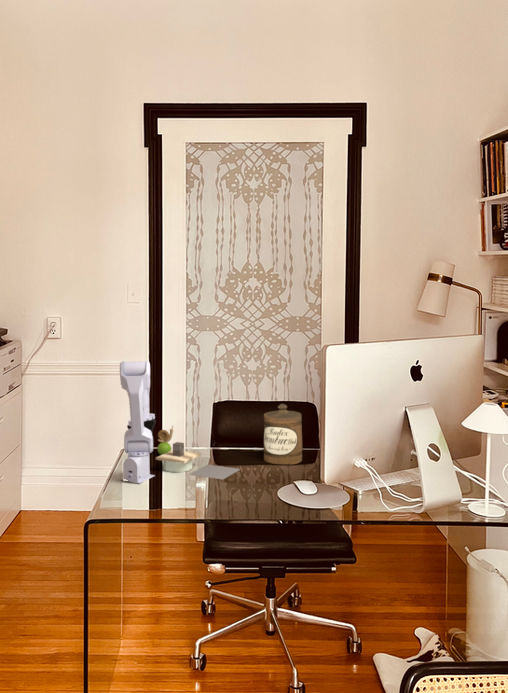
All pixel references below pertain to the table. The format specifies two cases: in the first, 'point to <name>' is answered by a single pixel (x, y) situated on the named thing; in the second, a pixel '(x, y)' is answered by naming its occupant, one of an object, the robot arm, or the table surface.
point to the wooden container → (283, 436)
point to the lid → (178, 454)
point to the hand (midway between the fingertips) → (142, 441)
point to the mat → (214, 472)
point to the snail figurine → (164, 441)
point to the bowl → (177, 466)
